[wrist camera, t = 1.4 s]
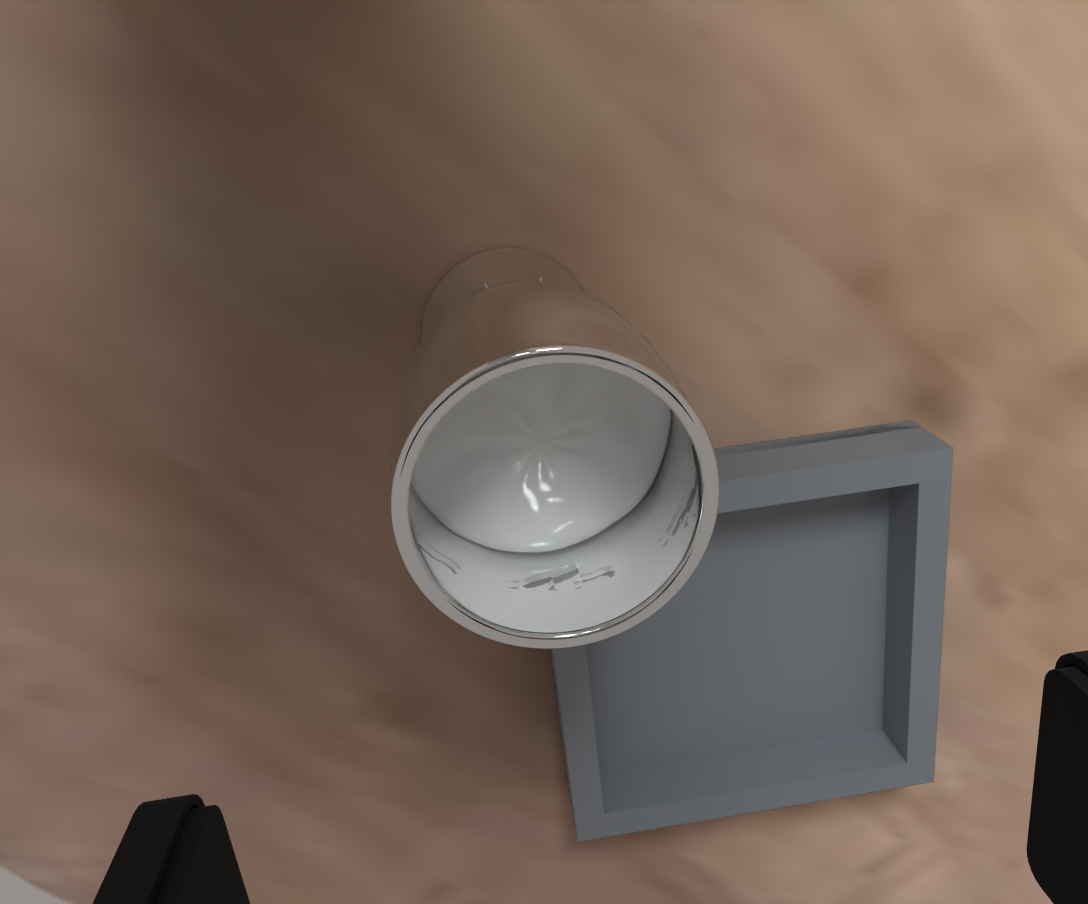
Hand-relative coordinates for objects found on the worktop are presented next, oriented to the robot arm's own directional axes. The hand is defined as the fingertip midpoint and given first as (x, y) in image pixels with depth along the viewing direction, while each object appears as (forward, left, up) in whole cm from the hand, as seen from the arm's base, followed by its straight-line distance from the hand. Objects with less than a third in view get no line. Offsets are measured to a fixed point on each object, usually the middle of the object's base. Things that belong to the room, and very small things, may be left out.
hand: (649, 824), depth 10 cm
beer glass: (0, 0, -23) cm, 23 cm away
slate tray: (+13, +7, -23) cm, 27 cm away
